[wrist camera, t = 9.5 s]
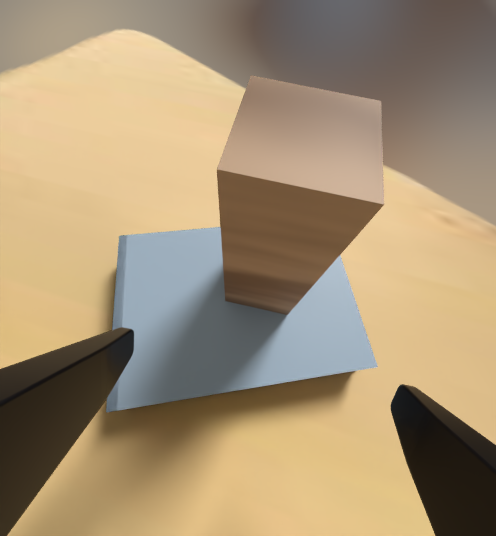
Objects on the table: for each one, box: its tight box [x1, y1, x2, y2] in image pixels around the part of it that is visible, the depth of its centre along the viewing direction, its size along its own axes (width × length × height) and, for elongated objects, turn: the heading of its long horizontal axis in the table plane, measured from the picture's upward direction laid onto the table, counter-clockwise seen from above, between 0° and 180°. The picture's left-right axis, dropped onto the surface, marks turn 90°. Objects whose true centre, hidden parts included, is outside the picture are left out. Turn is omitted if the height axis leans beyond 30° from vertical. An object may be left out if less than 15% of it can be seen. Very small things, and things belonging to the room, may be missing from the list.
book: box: [106, 227, 378, 412], centre depth 19 cm, size 17×12×3 cm
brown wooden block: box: [217, 76, 384, 315], centre depth 13 cm, size 4×4×12 cm
